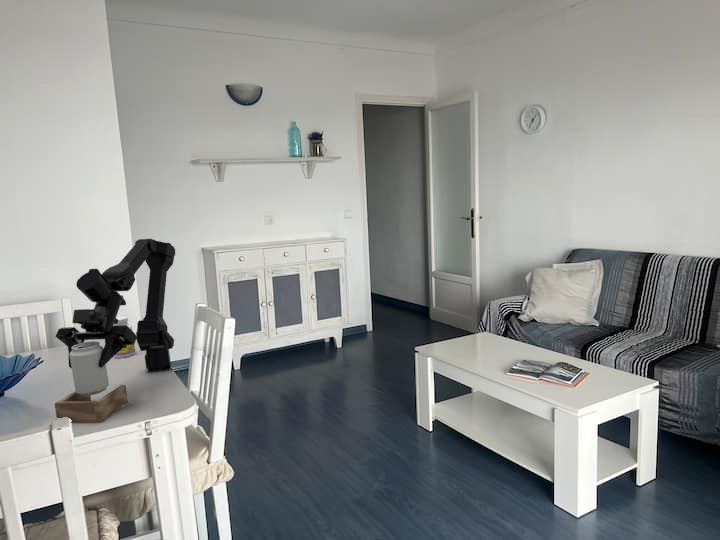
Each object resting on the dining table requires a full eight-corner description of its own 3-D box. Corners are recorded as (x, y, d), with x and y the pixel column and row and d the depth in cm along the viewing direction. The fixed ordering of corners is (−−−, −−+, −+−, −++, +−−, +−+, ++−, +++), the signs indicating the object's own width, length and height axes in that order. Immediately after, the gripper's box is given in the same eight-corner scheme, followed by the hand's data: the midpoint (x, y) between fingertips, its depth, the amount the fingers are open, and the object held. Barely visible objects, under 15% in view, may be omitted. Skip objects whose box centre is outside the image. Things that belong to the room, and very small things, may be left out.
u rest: (87, 403, 141) (84, 385, 141) (128, 403, 140) (125, 385, 139) (57, 422, 130) (54, 403, 130) (101, 422, 129) (98, 402, 128)
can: (70, 393, 135) (62, 346, 133) (100, 383, 140) (93, 338, 138) (84, 399, 130) (76, 350, 128) (115, 388, 135) (107, 342, 134)
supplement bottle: (130, 357, 181) (125, 320, 179) (110, 359, 181) (105, 321, 179) (138, 351, 187) (133, 315, 185) (119, 353, 187) (114, 316, 186)
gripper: (54, 296, 137) (29, 353, 128) (123, 293, 134) (103, 351, 125) (79, 319, 145) (58, 373, 137) (144, 316, 143) (127, 371, 134)
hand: (85, 367), depth 133 cm, fingers closed on can, 7 cm apart
